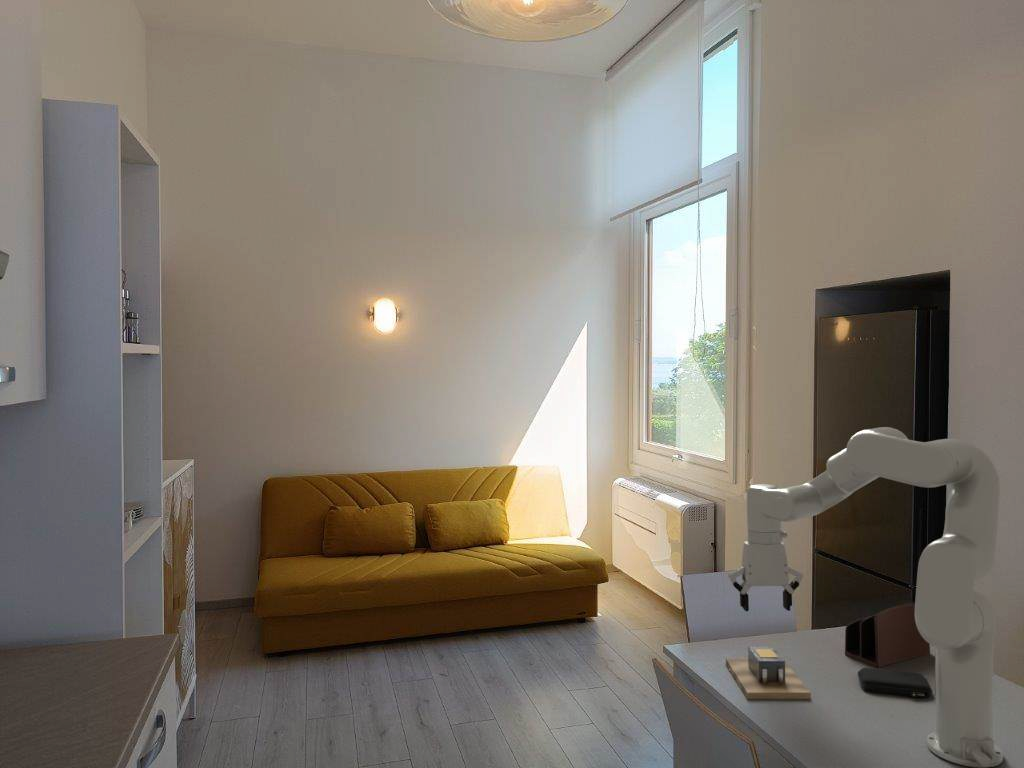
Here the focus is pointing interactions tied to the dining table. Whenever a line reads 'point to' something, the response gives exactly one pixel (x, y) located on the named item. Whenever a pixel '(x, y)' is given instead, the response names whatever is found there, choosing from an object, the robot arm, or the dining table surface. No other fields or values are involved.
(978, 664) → the robot arm
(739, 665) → the tray
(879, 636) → the letter holder
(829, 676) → the dining table surface
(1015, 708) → the dining table surface
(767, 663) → the block
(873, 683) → the carrying case or bag
